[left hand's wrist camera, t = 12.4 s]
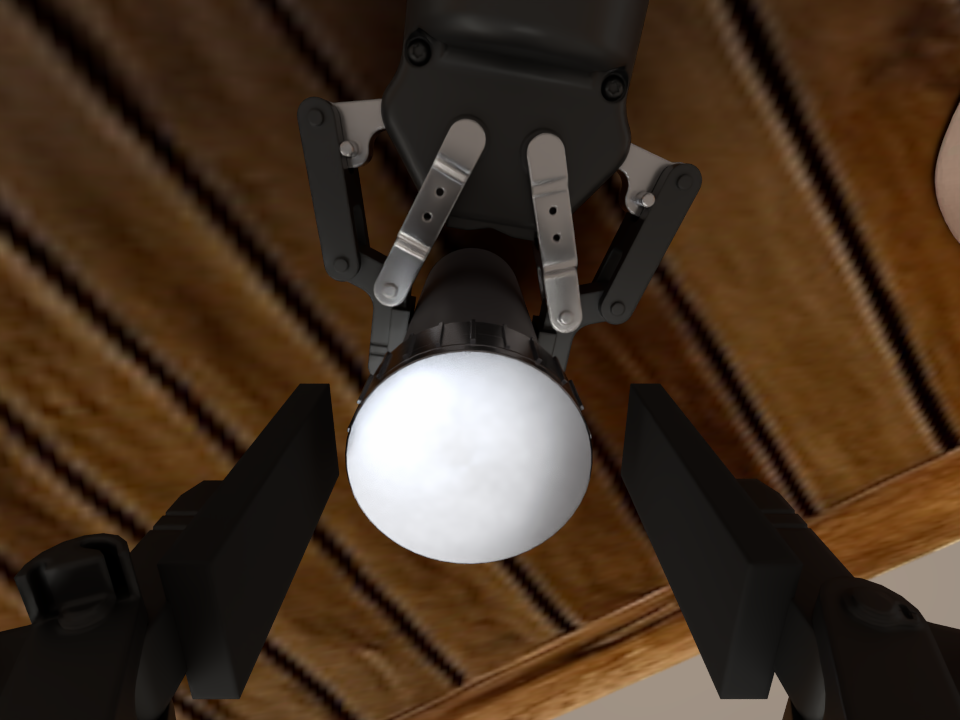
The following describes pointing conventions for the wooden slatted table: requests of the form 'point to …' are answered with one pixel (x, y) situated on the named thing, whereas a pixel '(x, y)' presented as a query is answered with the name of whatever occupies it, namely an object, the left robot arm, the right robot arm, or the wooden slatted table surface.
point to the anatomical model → (950, 176)
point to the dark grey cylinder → (471, 293)
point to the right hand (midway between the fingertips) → (462, 397)
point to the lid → (469, 444)
